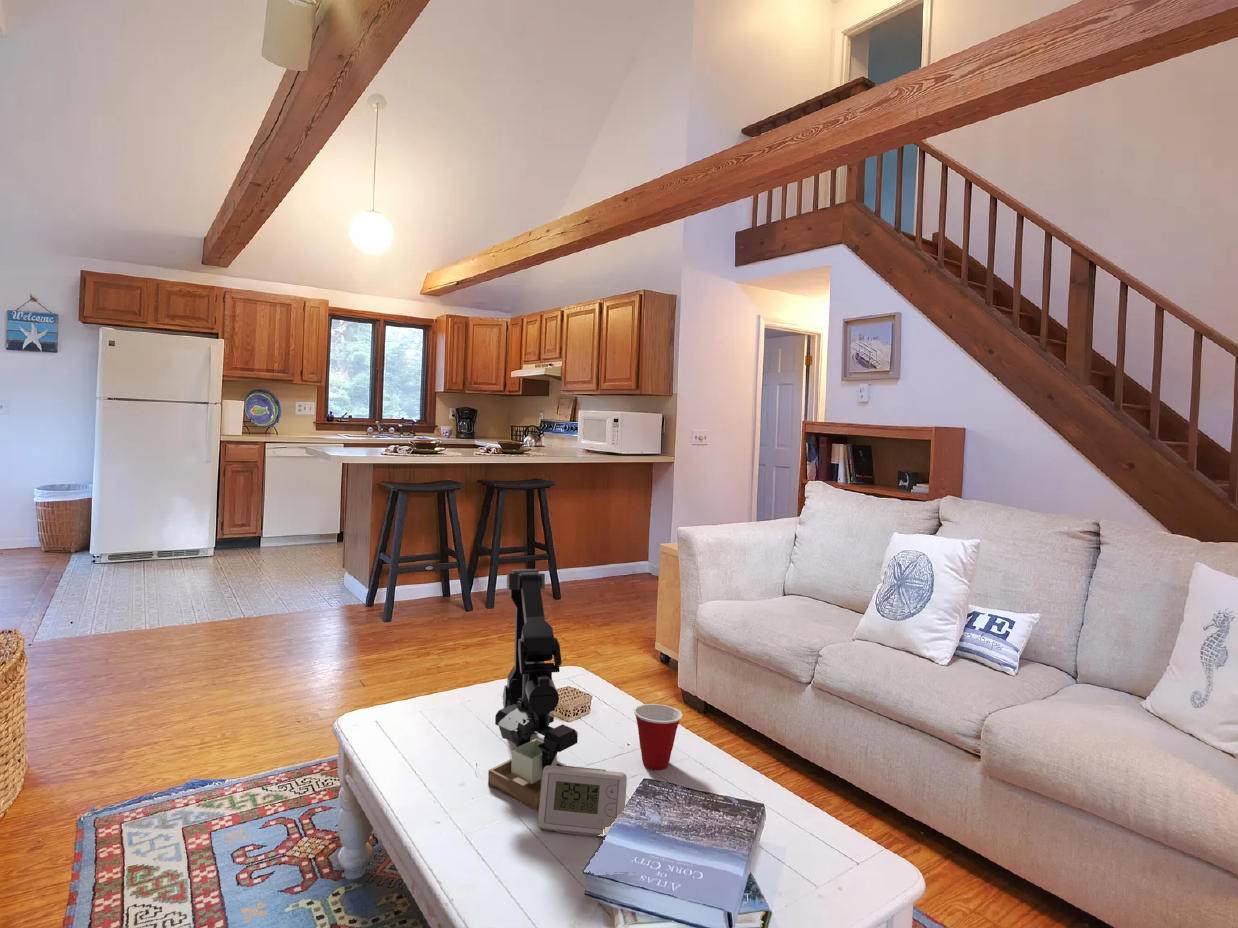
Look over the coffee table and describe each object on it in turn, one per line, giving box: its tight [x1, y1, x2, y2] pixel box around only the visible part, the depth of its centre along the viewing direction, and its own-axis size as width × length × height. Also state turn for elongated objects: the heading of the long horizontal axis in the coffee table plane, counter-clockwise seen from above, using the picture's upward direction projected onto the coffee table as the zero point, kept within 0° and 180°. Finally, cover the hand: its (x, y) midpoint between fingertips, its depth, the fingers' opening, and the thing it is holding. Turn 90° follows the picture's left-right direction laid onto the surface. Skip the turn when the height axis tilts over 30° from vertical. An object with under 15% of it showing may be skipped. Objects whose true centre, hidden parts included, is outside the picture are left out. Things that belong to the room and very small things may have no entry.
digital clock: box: [537, 765, 628, 837], centre depth 130 cm, size 16×9×11 cm, turn 72°
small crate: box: [511, 737, 558, 784], centre depth 143 cm, size 7×6×5 cm
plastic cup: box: [633, 703, 684, 771], centre depth 155 cm, size 11×11×12 cm
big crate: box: [487, 758, 567, 812], centre depth 143 cm, size 12×14×3 cm
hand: (534, 766), depth 143 cm, fingers closed on small crate, 6 cm apart
